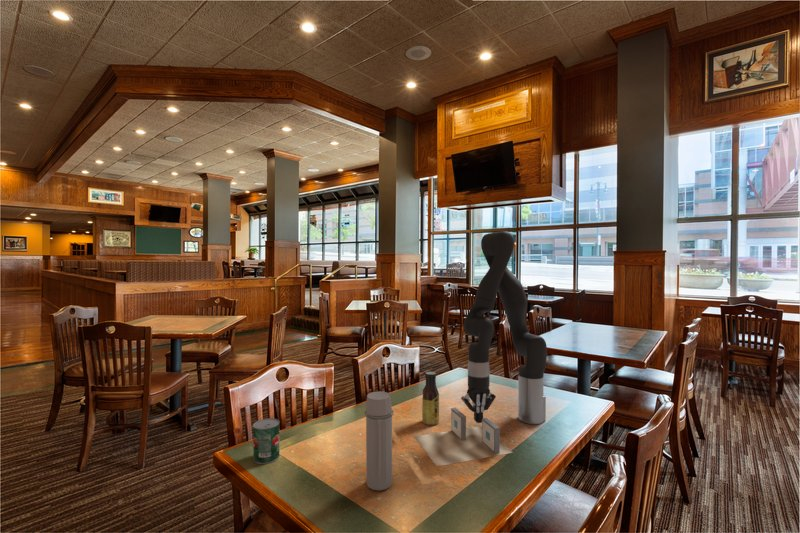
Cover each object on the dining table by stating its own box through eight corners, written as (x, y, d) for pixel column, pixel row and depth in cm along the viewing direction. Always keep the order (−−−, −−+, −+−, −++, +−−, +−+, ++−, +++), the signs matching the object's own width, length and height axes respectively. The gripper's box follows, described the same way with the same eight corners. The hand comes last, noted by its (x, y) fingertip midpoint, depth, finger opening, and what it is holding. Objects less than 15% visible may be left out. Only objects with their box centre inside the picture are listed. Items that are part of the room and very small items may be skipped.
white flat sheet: (480, 430, 140) (480, 426, 140) (512, 457, 121) (512, 452, 121) (413, 440, 132) (413, 436, 132) (436, 471, 113) (436, 466, 113)
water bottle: (365, 477, 110) (364, 391, 109) (392, 476, 110) (392, 390, 110) (365, 497, 100) (364, 403, 100) (394, 496, 101) (394, 402, 100)
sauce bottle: (438, 430, 139) (438, 376, 139) (421, 429, 141) (421, 375, 140) (439, 422, 146) (439, 371, 146) (423, 421, 147) (423, 370, 147)
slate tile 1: (455, 429, 136) (455, 407, 136) (465, 440, 129) (466, 416, 129) (450, 430, 136) (450, 408, 136) (461, 440, 128) (461, 417, 128)
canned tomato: (250, 456, 122) (249, 422, 121) (274, 448, 126) (274, 415, 126) (257, 467, 115) (257, 431, 115) (283, 458, 120) (283, 424, 120)
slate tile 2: (486, 441, 128) (486, 417, 128) (499, 453, 120) (499, 427, 120) (481, 442, 127) (481, 418, 127) (494, 453, 120) (494, 428, 120)
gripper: (489, 368, 140) (489, 415, 140) (456, 372, 136) (456, 420, 136) (500, 374, 133) (500, 424, 133) (466, 378, 129) (466, 429, 129)
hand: (478, 422), depth 135 cm, fingers closed
